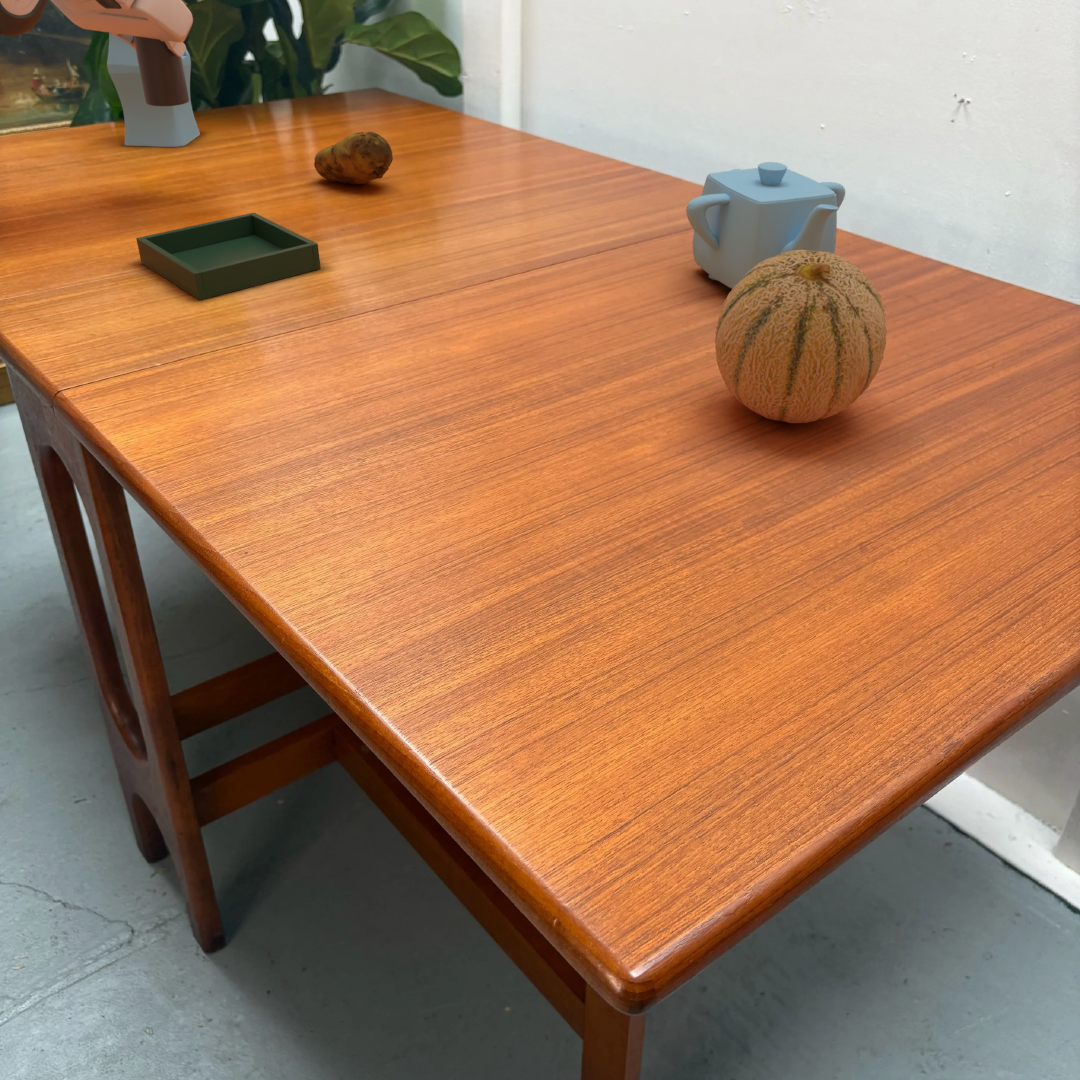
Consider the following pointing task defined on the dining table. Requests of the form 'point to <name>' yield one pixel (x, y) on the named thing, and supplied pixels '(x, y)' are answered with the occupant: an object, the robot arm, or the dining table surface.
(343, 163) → the potato
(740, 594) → the dining table surface
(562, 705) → the dining table surface
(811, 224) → the teapot
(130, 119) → the vase
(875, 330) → the cantaloupe
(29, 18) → the robot arm
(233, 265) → the tray
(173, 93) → the pepper mill
